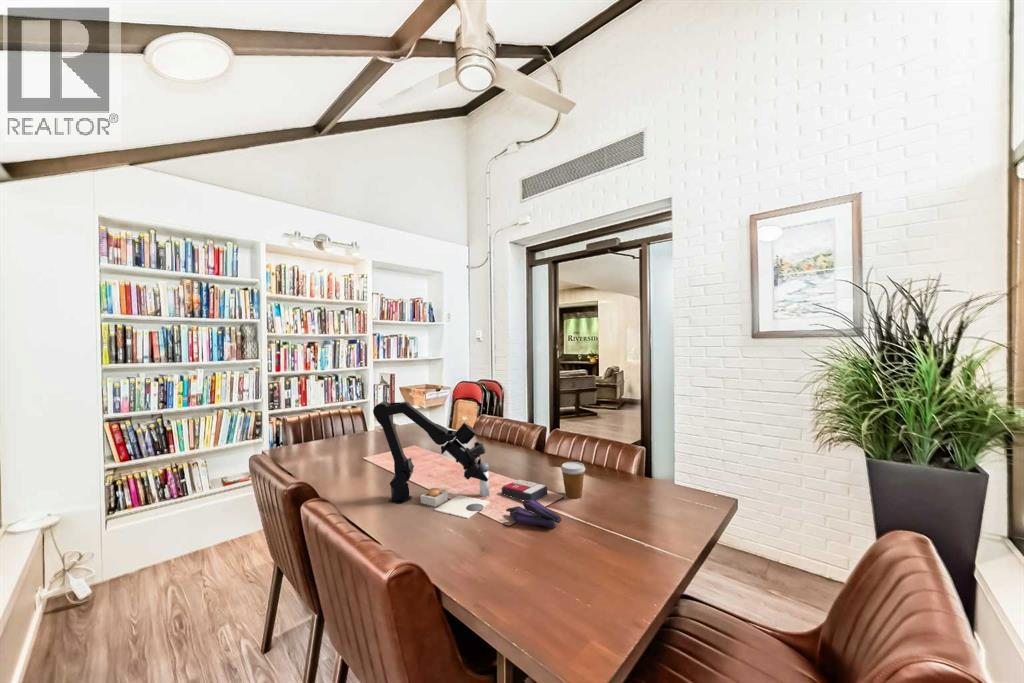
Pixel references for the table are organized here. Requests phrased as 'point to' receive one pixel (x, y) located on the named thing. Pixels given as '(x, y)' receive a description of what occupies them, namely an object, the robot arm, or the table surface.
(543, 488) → the red gray flat box
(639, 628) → the table surface
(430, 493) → the button
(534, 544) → the table surface
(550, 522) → the purple stapler
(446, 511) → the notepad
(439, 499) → the button housing
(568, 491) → the disposable coffee cup
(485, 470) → the white gray cylinder
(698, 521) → the table surface
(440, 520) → the table surface
